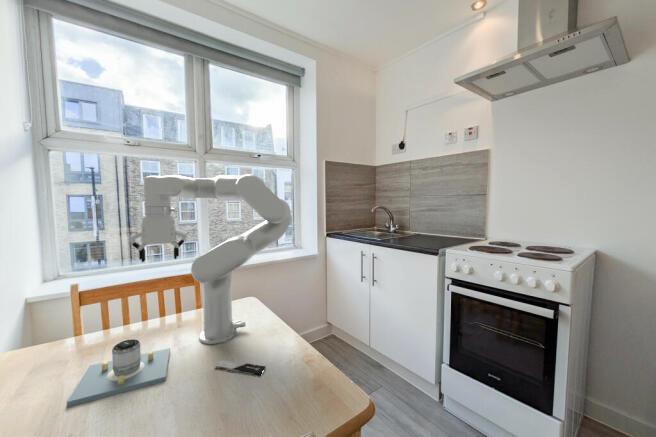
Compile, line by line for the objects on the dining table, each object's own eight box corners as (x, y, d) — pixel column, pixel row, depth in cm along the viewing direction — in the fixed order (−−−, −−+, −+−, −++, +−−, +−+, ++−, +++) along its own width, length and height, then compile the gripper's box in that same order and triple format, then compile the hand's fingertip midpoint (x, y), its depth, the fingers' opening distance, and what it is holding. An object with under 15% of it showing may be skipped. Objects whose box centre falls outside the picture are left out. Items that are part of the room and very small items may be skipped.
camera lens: (123, 379, 70) (122, 350, 70) (107, 374, 72) (106, 346, 72) (146, 365, 76) (145, 339, 76) (131, 361, 78) (129, 335, 78)
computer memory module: (214, 367, 76) (222, 359, 80) (214, 370, 77) (223, 362, 80) (260, 375, 73) (267, 366, 77) (260, 378, 73) (267, 369, 77)
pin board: (170, 351, 86) (169, 342, 85) (165, 380, 71) (165, 369, 71) (90, 369, 76) (89, 358, 76) (66, 406, 62) (66, 393, 62)
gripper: (186, 211, 100) (187, 255, 101) (130, 211, 92) (132, 260, 93) (185, 211, 93) (187, 259, 94) (125, 212, 85) (127, 264, 86)
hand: (159, 259), depth 93 cm, fingers open, 9 cm apart
